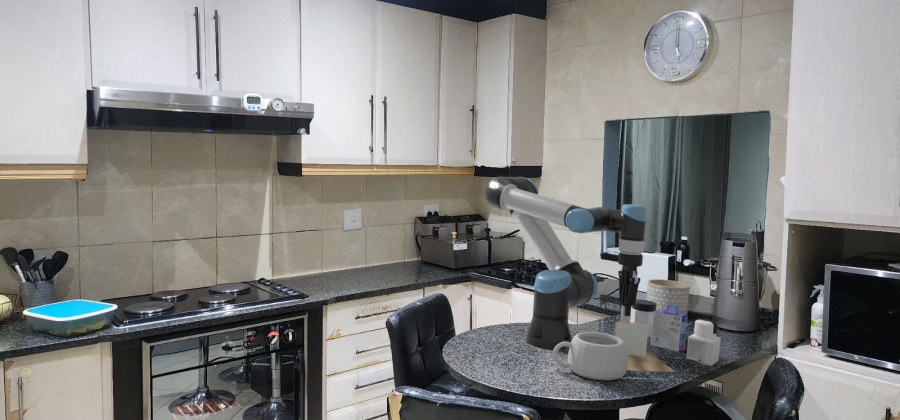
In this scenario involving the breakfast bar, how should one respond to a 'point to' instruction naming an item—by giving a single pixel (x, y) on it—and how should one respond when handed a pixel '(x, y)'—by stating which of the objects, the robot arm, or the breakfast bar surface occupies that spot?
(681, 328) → the ink cartridge box
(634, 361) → the plate
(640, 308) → the jar
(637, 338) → the tile
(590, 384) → the breakfast bar surface
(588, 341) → the mug
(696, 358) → the container
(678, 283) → the planter
